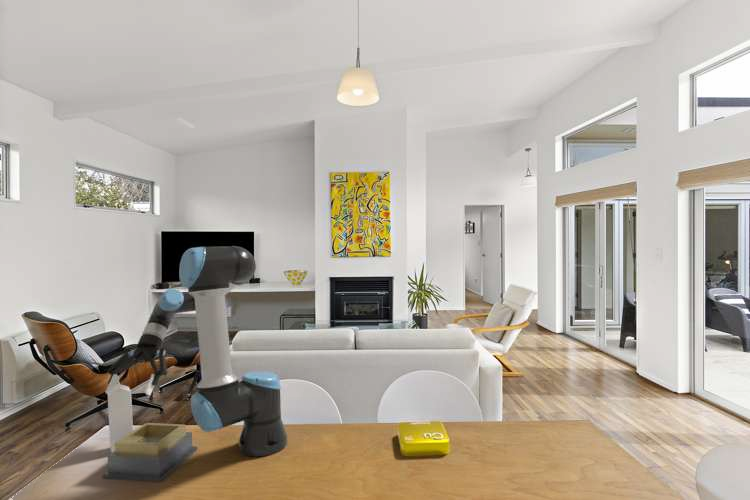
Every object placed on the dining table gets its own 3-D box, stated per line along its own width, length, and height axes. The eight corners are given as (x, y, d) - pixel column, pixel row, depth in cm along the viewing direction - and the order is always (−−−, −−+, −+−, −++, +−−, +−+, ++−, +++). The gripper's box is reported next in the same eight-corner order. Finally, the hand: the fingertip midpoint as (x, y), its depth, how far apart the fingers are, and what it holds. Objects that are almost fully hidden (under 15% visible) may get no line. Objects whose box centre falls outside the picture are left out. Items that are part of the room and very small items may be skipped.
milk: (112, 455, 133) (108, 386, 132) (110, 448, 138) (106, 381, 137) (134, 449, 137) (130, 381, 136) (131, 442, 142) (128, 376, 141)
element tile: (441, 433, 144) (441, 419, 144) (451, 455, 129) (450, 440, 129) (397, 434, 143) (397, 420, 143) (401, 457, 128) (401, 442, 128)
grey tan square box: (197, 449, 136) (196, 421, 135) (160, 482, 118) (159, 449, 118) (145, 446, 138) (144, 419, 138) (102, 478, 121) (101, 446, 120)
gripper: (189, 343, 159) (168, 398, 144) (124, 343, 160) (98, 398, 146) (181, 332, 153) (158, 389, 139) (114, 333, 155) (85, 389, 140)
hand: (127, 394), depth 142 cm, fingers open, 13 cm apart
